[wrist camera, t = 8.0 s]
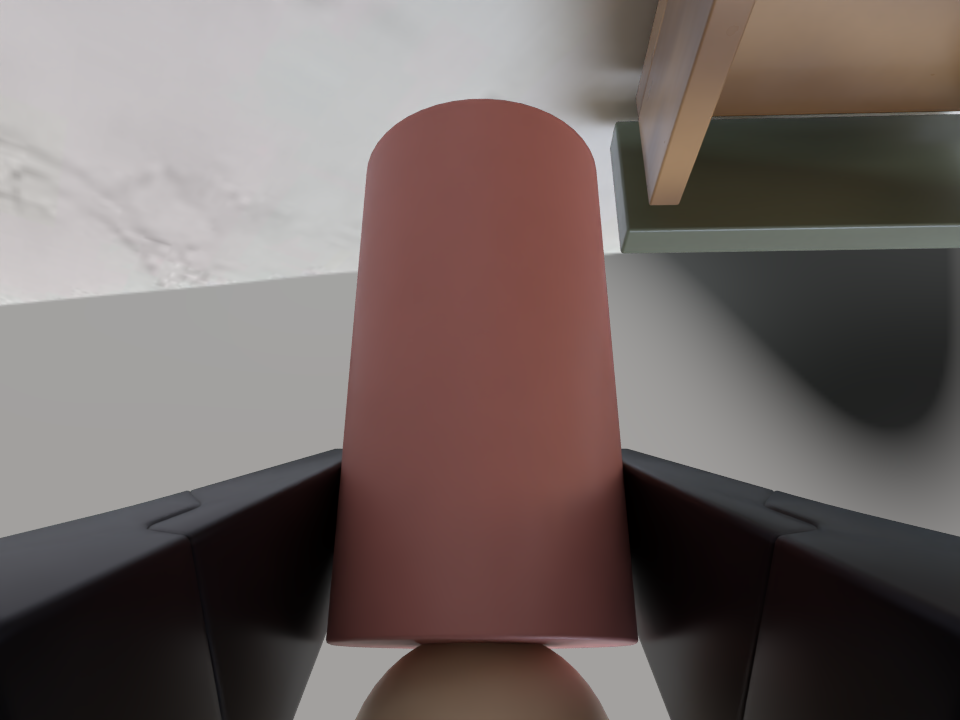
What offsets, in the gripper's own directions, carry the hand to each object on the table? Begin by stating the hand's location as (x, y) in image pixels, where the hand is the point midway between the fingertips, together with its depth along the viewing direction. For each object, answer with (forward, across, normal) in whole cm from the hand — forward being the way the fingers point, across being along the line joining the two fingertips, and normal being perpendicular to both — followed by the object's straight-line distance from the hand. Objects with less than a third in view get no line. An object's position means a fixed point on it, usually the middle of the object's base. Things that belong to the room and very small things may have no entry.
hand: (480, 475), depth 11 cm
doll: (+2, 0, +4) cm, 5 cm away
